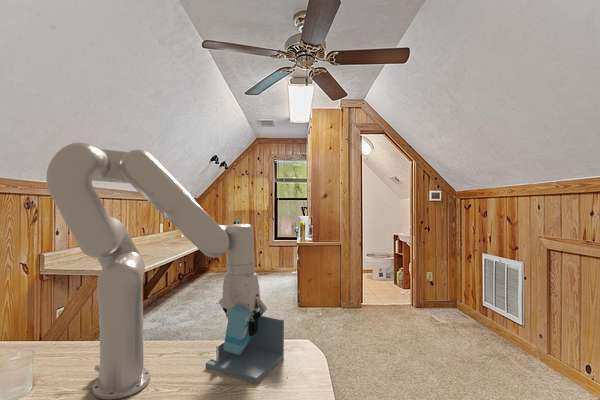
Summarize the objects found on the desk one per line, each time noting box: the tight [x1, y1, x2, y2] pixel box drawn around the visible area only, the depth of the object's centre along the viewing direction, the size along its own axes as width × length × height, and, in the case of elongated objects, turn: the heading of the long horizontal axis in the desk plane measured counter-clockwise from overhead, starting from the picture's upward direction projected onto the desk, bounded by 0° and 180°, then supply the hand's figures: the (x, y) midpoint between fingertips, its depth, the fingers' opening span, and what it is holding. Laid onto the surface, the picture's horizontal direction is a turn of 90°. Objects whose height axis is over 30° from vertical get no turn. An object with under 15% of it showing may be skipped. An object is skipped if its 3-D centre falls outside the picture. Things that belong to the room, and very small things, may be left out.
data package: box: [223, 304, 259, 355], centre depth 94 cm, size 12×4×12 cm, turn 168°
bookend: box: [209, 339, 231, 362], centre depth 97 cm, size 3×10×4 cm, turn 154°
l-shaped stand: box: [205, 314, 285, 385], centre depth 94 cm, size 16×14×12 cm
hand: (243, 331), depth 94 cm, fingers closed on data package, 6 cm apart
